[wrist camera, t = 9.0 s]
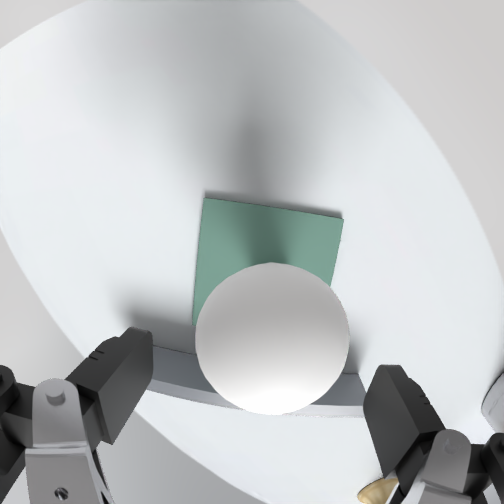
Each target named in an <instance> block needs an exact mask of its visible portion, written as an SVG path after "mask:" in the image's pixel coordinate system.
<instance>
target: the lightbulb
mask: <svg viewBox="0 0 504 504" xmlns="http://www.w3.org/2000/svg"><path fill="white" fill-rule="evenodd" d="M349 339H350V333H349V325H348V320H347V315H346V313H345V311H344V308H343V306H342V304H341V302H340V300H339V299H338V297H337V296H336V294H335V293H334V292H333V290H332V289H331V288H330V287H329V286H328V285H327V284H326V283H325V282H324V281H322V280H321V279H320V278H319V277H317V276H315V275H314V274H312V273H310V272H308V271H306V270H304V269H302V268H299V267H295V266H292V265H288V264H280V263H274V262H269V263H264V264H258V265H254V266H251V267H248V268H244V269H243V270H241V271H239V272H237V273H235V274H233V275H231V276H229V277H227V278H226V279H225V280H224V281H223V282H221V283H220V284H219V285H218V286H216V288H215V289H214V290H213V291H212V293H211V294H210V295H209V296H208V298H207V300H206V301H205V303H204V305H203V307H202V309H201V311H200V313H199V316H198V320H197V325H196V332H195V348H196V353H197V357H198V361H199V365H200V368H201V370H202V372H203V374H204V376H205V378H206V379H207V380H208V382H209V383H210V384H211V385H212V387H213V388H214V389H215V390H216V391H217V392H218V393H219V394H220V395H221V396H222V397H223V398H225V399H226V400H227V401H229V402H231V403H232V404H234V405H236V406H238V407H240V408H242V409H245V410H247V411H250V412H255V413H259V414H271V415H272V414H284V413H288V412H293V411H296V410H298V409H301V408H304V407H305V406H307V405H309V404H311V403H312V402H314V401H316V400H318V399H319V398H320V397H321V396H322V395H324V394H325V393H326V392H327V391H328V390H329V389H330V387H331V386H332V385H333V384H334V383H335V381H336V380H337V379H338V377H339V375H340V374H341V372H342V370H343V368H344V366H345V362H346V359H347V355H348V350H349Z"/></svg>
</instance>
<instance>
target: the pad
mask: <svg viewBox="0 0 504 504" xmlns="http://www.w3.org/2000/svg"><path fill="white" fill-rule="evenodd" d="M343 222H344V219H341V218H335V217H330V216H324V215H318V214H312V213H306V212H300V211H294V210H288V209H282V208H275V207H269V206H262V205H255V204H248V203H241V202H234V201H226V200H219V199H211V198H204V202H203V210H202V219H201V228H200V238H199V248H198V258H197V269H196V281H195V293H194V307H193V322H192V325H195V326H196V325H197V320H198V316H199V313H200V311H201V309H202V307H203V305H204V303H205V301H206V300H207V298H208V296H209V295H210V294H211V293H212V291H213V290H214V289H215V288H216V286H218V285H219V284H220V283H221V282H223V281H224V280H225V279H226V278H227V277H229V276H231V275H233V274H235V273H237V272H239V271H241V270H243V269H244V268H248V267H251V266H254V265H258V264H264V263H269V262H274V263H280V264H288V265H292V266H295V267H299V268H302V269H304V270H306V271H308V272H310V273H312V274H314V275H315V276H317V277H319V278H320V279H321V280H322V281H324V282H325V283H326V284H327V285H328V286H329V287H330V285H331V281H332V276H333V272H334V267H335V263H336V258H337V253H338V248H339V243H340V238H341V233H342V228H343Z"/></svg>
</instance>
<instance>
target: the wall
mask: <svg viewBox="0 0 504 504" xmlns="http://www.w3.org/2000/svg"><path fill="white" fill-rule="evenodd" d="M146 390H150V391H154V392H157V393H161V394H165V395H169V396H173V397H177V398H182V399H186V400H191V401H195V402H200V403H205V404H210V405H216V406H221V407H227V408H234V409H240V410H245V409H242V408H240V407H238V406H236V405H234V404H232V403H231V402H229V401H227V400H226V399H225V398H223V397H222V396H221V395H220V394H219V393H218V392H217V391H216V390H215V389H214V388H213V387H212V385H211V384H210V383H209V382H208V380H207V379H206V378H205V376H204V374H203V372H202V370H201V368H200V365H199V361H198V357H197V355H193V354H188V353H183V352H178V351H174V350H170V349H165V348H161V347H157V346H153V375H152V379H151V382H150V384H149V385H148V387H147V389H146ZM365 396H366V391H365V389H364V386H363V384H362V382H361V379H360V377H359V374H340V375H339V377H338V379H337V380H336V381H335V383H334V384H333V385H332V386H331V387H330V389H329V390H328V391H327V392H326V393H325V394H324V395H322V396H321V397H320V398H319V399H318V400H316V401H314V402H312V403H311V404H309V405H307V406H305V407H304V408H301V409H298V410H296V411H293V412H288V413H284V414H283V415H295V416H312V417H365V416H364V413H363V402H364V398H365Z"/></svg>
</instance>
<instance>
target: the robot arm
mask: <svg viewBox="0 0 504 504" xmlns="http://www.w3.org/2000/svg"><path fill="white" fill-rule="evenodd" d="M152 375H153V340H152V333H151V332H149V331H145V330H141V329H138V328H134V327H129V328H128V329H127V330H126V331H125V332H124V333H123V334H122V335H121V336H120V337H116V336H115V337H112V338H110V339H108V340H106V341H103V342H102V343H101V344H100V345H99V346H98V347H97V348H96V349H95V351H93V352H92V353H91V354H90V355H89V357H87V358H86V359H85V360H84V361H83V362H82V363H81V364H80V365H79V366H78V367H77V368H76V369H75V370H74V371H73V372H72V373H71V374H70V375H69V376H68V377H67V378H66V379H65V380H63V379H48V380H45V381H43V382H41V383H40V384H38V386H36V387H33V386H29V385H25V384H21V383H17V382H16V380H15V377H14V374H13V372H12V370H11V369H9V368H8V367H6V366H3V365H0V504H1V503H2V502H3V500H4V498H5V496H6V495H7V494H8V492H9V490H10V489H11V487H12V486H13V484H14V483H15V481H16V479H17V478H18V476H19V475H20V473H21V472H22V470H23V469H24V467H25V466H26V474H27V484H28V491H29V498H30V504H115V502H114V500H113V498H112V495H111V493H110V490H109V487H108V484H107V481H106V478H105V475H104V472H103V468H102V465H101V461H100V458H99V454H98V451H97V448H96V447H97V446H98V444H99V443H100V441H104V442H106V443H109V444H111V445H113V443H114V442H115V440H116V438H117V437H118V435H119V433H120V432H121V430H122V428H123V427H124V425H125V423H126V421H127V420H128V418H129V417H130V415H131V413H132V412H133V410H134V408H135V407H136V405H137V403H138V402H139V400H140V398H141V397H142V395H143V394H144V392H145V390H146V389H147V387H148V385H149V384H150V382H151V379H152ZM425 396H426V395H425V393H424V392H423V390H422V389H421V387H420V386H419V385H418V384H417V383H416V382H414V381H413V380H412V379H411V378H408V376H407V375H406V373H405V371H404V370H403V368H402V367H401V366H400V365H380V366H379V367H378V368H377V370H376V372H375V375H374V377H373V380H372V382H371V384H370V387H369V389H368V391H367V393H366V396H365V398H364V402H363V413H364V416H365V419H366V422H367V425H368V428H369V431H370V434H371V437H372V440H373V444H374V447H375V450H376V453H377V456H378V460H379V463H380V466H381V470H382V473H383V477H384V480H386V479H392V478H398V481H399V482H398V483H397V485H396V486H395V487H394V489H393V491H392V493H391V494H390V496H389V498H388V500H387V502H386V503H385V504H488V503H487V501H486V498H485V496H484V493H483V491H484V490H485V489H486V488H487V487H489V486H490V485H491V483H493V485H494V487H495V489H496V491H497V493H498V496H499V498H500V500H501V504H504V373H503V374H502V375H501V376H500V377H499V379H498V380H497V381H496V382H495V384H494V385H493V386H492V388H491V390H490V391H489V393H488V394H487V396H486V398H485V400H484V403H483V406H482V414H483V416H484V417H485V419H486V420H487V421H488V423H489V424H490V425H491V427H492V428H493V430H494V431H495V434H493V435H492V436H491V437H490V439H489V440H488V441H487V443H486V444H470V441H469V440H468V438H467V437H466V436H465V435H464V434H462V433H461V432H459V431H456V430H452V429H446V428H445V426H444V425H443V423H442V421H441V420H440V418H439V416H438V415H437V413H436V411H435V410H434V408H433V406H432V405H430V401H429V400H428V398H427V397H425Z"/></svg>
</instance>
